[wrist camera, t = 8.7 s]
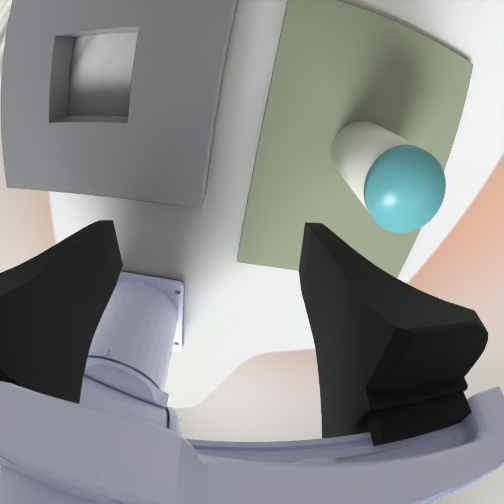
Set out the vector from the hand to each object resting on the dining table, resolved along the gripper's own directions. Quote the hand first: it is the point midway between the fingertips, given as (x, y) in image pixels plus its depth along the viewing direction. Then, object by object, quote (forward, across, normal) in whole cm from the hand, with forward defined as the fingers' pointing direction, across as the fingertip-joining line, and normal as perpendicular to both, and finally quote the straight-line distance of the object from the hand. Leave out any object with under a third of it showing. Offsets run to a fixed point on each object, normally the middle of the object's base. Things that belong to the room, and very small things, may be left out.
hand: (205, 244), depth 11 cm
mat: (+10, -9, -1) cm, 14 cm away
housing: (+10, +8, -7) cm, 15 cm away
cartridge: (+10, -9, -2) cm, 13 cm away
